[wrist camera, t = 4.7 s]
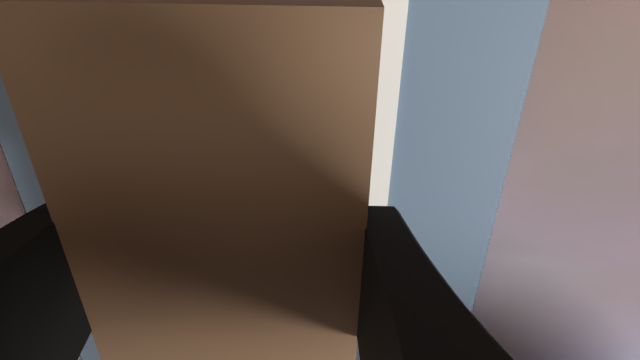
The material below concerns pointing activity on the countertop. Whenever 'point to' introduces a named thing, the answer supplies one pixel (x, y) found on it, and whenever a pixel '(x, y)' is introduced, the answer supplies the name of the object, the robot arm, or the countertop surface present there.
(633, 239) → the countertop surface
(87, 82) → the walnut brick
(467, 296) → the plan board
